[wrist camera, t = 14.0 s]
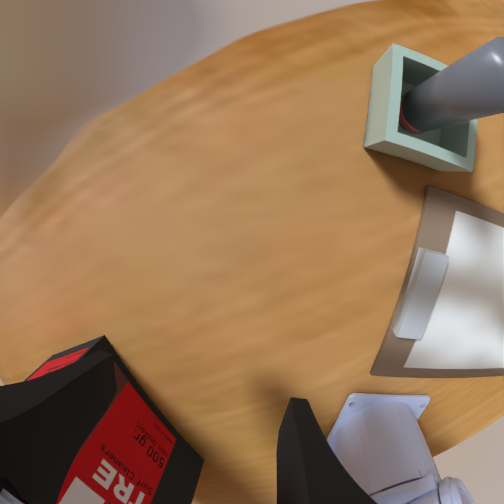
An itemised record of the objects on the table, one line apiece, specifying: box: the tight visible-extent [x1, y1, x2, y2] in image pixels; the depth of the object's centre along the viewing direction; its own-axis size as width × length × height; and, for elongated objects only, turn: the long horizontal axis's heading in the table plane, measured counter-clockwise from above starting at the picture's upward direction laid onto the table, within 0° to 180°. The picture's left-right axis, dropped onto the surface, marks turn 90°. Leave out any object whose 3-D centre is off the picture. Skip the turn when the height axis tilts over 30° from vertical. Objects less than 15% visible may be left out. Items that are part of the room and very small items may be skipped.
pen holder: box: [363, 43, 477, 172], centre depth 13 cm, size 6×6×4 cm
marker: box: [398, 37, 504, 134], centre depth 10 cm, size 3×3×10 cm
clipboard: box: [370, 186, 504, 378], centre depth 17 cm, size 14×18×1 cm
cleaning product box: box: [22, 335, 204, 504], centre depth 14 cm, size 16×9×20 cm, turn 26°
